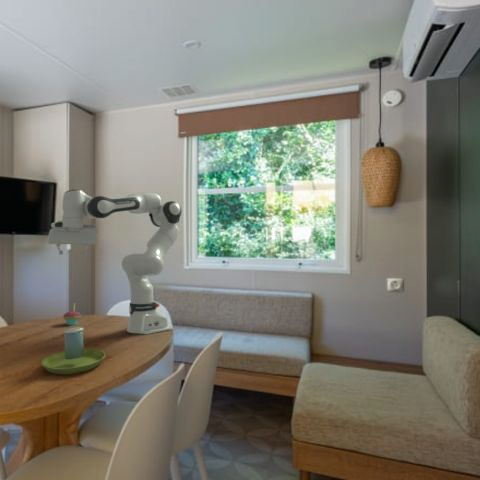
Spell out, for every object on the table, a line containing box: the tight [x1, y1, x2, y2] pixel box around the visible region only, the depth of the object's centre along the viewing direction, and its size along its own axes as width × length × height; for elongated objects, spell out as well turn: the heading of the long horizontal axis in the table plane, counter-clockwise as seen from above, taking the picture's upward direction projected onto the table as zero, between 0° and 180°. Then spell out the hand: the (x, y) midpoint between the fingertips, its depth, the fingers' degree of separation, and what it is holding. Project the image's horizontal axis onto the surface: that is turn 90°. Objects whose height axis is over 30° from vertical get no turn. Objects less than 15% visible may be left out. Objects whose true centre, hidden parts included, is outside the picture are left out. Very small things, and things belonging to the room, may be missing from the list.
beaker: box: [63, 326, 84, 359], centre depth 119 cm, size 6×6×10 cm
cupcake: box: [62, 302, 82, 326], centre depth 176 cm, size 9×8×12 cm
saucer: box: [41, 348, 106, 375], centre depth 118 cm, size 21×21×3 cm
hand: (72, 254), depth 150 cm, fingers open, 8 cm apart
